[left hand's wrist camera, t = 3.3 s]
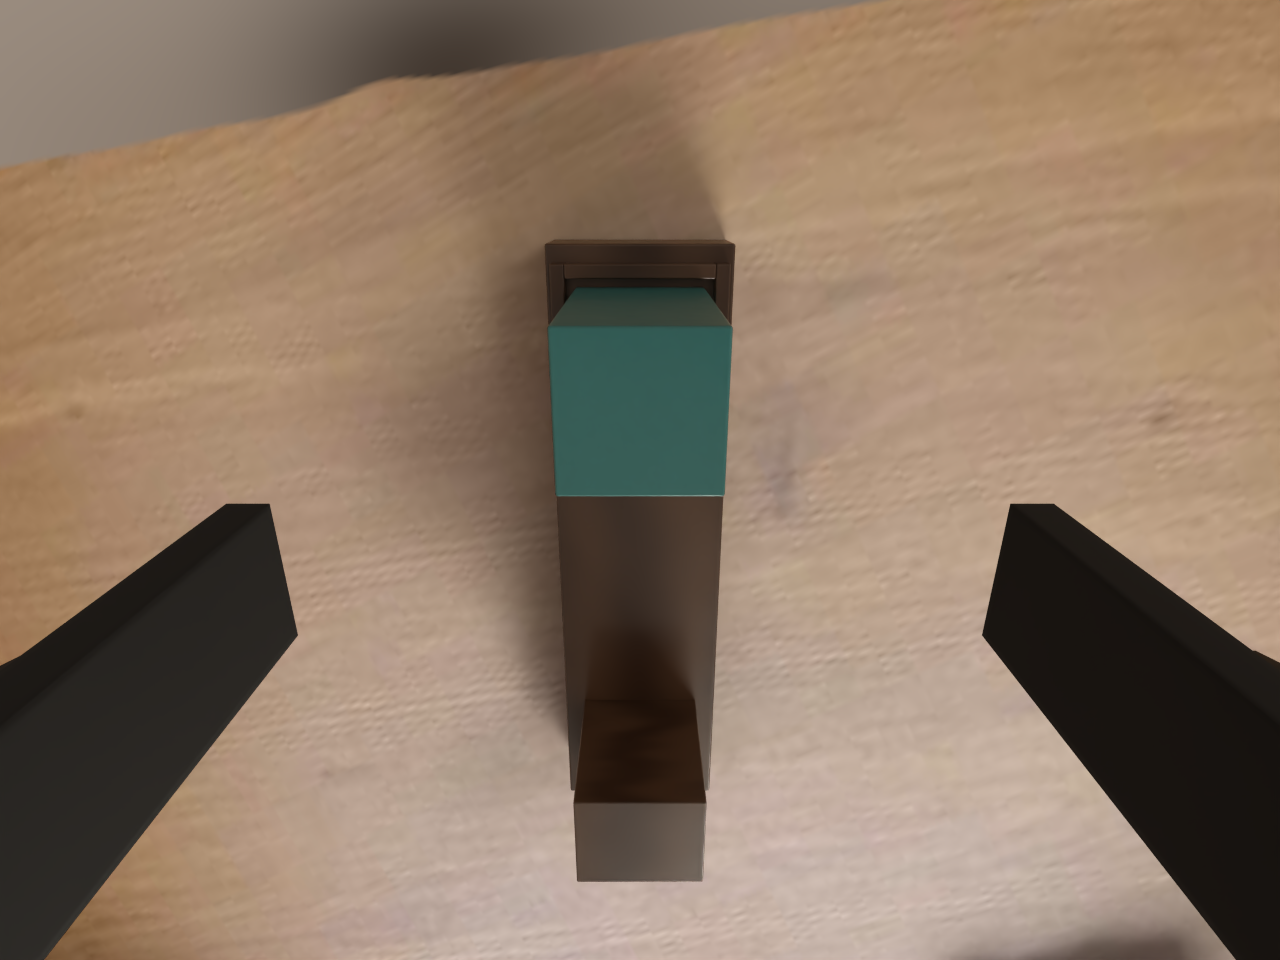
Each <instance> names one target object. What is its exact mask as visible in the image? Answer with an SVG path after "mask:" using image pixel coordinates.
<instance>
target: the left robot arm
mask: <svg viewBox="0 0 1280 960" xmlns="http://www.w3.org/2000/svg"><path fill="white" fill-rule="evenodd" d="M297 636H298V634H297V629H296V624H295V620H294V615H293V610H292V606H291V601H290V596H289V592H288V587H287V583H286V578H285V573H284V569H283V564H282V559H281V555H280V550H279V545H278V541H277V536H276V532H275V527H274V522H273V518H272V513H271V508H270V504H225V505H224V506H223V507H221V508H220V509H219V510H217V511H216V512H215V513H213V514H212V515H210V516H209V517H208V518H206V519H205V520H204V521H202V522H201V523H200V524H198V525H197V526H196V527H194V528H193V529H192V530H190V531H189V532H187V533H186V534H185V535H183V536H182V537H181V538H179V539H178V540H177V541H175V542H174V543H173V544H171V545H170V546H169V547H167V548H166V549H164V550H163V551H162V552H160V553H159V554H158V555H156V556H155V557H154V558H152V559H151V560H150V561H148V562H147V563H146V564H144V565H143V566H141V567H140V568H139V569H137V570H136V571H135V572H133V573H132V574H131V575H129V576H128V577H127V578H125V579H124V580H123V581H121V582H120V583H118V584H117V585H116V586H114V587H113V588H112V589H110V590H109V591H108V592H106V593H105V594H104V595H102V596H101V597H99V598H98V599H97V600H95V601H94V602H93V603H91V604H90V605H89V606H87V607H86V608H85V609H83V610H82V611H81V612H79V613H78V614H76V615H75V616H74V617H72V618H71V619H70V620H68V621H67V622H66V623H64V624H63V625H62V626H60V627H59V628H58V629H56V630H55V631H53V632H52V633H51V634H49V635H48V636H47V637H45V638H44V639H43V640H41V641H40V642H39V643H37V644H36V645H35V646H33V647H32V648H30V649H29V650H28V651H26V652H25V653H24V654H22V655H21V656H19V657H17V658H15V659H13V660H11V661H9V662H7V663H5V664H3V665H1V666H0V960H44V959H45V958H46V957H47V955H48V954H49V953H50V951H51V950H52V949H53V948H54V946H55V945H56V944H57V943H58V941H59V940H60V939H61V937H62V936H63V935H64V934H65V932H66V931H67V930H68V928H69V927H70V926H71V925H72V923H73V922H74V921H75V920H76V918H77V917H78V916H79V914H80V913H81V912H82V911H83V909H84V908H85V907H86V905H87V904H88V903H89V902H90V900H91V899H92V898H93V897H94V895H95V894H96V893H97V891H98V890H99V889H100V888H101V886H102V885H103V884H104V882H105V881H106V880H107V879H108V877H109V876H110V875H111V874H112V872H113V871H114V870H115V868H116V867H117V866H118V865H119V863H120V862H121V861H122V859H123V858H124V857H125V856H126V854H127V853H128V852H129V851H130V849H131V848H132V847H133V845H134V844H135V843H136V842H137V840H138V839H139V838H140V836H141V835H142V834H143V833H144V831H145V830H146V829H147V828H148V826H149V825H150V824H151V822H152V821H153V820H154V819H155V817H156V816H157V815H158V813H159V812H160V811H161V810H162V808H163V807H164V806H165V805H166V803H167V802H168V801H169V799H170V798H171V797H172V796H173V794H174V793H175V792H176V790H177V789H178V788H179V787H180V785H181V784H182V783H183V782H184V780H185V779H186V778H187V776H188V775H189V774H190V773H191V771H192V770H193V769H194V767H195V766H196V765H197V764H198V762H199V761H200V760H201V759H202V757H203V756H204V755H205V753H206V752H207V751H208V750H209V748H210V747H211V746H212V744H213V743H214V742H215V741H216V739H217V738H218V737H219V736H220V734H221V733H222V732H223V730H224V729H225V728H226V727H227V725H228V724H229V723H230V721H231V720H232V719H233V718H234V716H235V715H236V714H237V712H238V711H239V710H240V709H241V707H242V706H243V705H244V704H245V702H246V701H247V700H248V698H249V697H250V696H251V695H252V693H253V692H254V691H255V689H256V688H257V687H258V686H259V684H260V683H261V682H262V681H263V679H264V678H265V677H266V675H267V674H268V673H269V672H270V670H271V669H272V668H273V666H274V665H275V664H276V663H277V661H278V660H279V659H280V658H281V656H282V655H283V654H284V652H285V651H286V650H287V649H288V647H289V646H290V645H291V643H292V642H293V641H294V640H295V638H296V637H297ZM982 636H983V637H984V638H985V640H986V641H987V642H988V643H989V645H990V646H991V647H992V649H993V650H994V651H995V652H996V654H997V655H998V656H999V658H1000V659H1001V660H1002V661H1003V663H1004V664H1005V665H1006V666H1007V668H1008V669H1009V670H1010V672H1011V673H1012V674H1013V675H1014V677H1015V678H1016V679H1017V681H1018V682H1019V683H1020V684H1021V686H1022V687H1023V688H1024V689H1025V691H1026V692H1027V693H1028V695H1029V696H1030V697H1031V698H1032V700H1033V701H1034V702H1035V704H1036V705H1037V706H1038V707H1039V709H1040V710H1041V711H1042V713H1043V714H1044V715H1045V716H1046V718H1047V719H1048V720H1049V721H1050V723H1051V724H1052V725H1053V727H1054V728H1055V729H1056V730H1057V732H1058V733H1059V734H1060V736H1061V737H1062V738H1063V739H1064V741H1065V742H1066V743H1067V744H1068V746H1069V747H1070V748H1071V750H1072V751H1073V752H1074V753H1075V755H1076V756H1077V757H1078V759H1079V760H1080V761H1081V762H1082V764H1083V765H1084V766H1085V767H1086V769H1087V770H1088V771H1089V773H1090V774H1091V775H1092V776H1093V778H1094V779H1095V780H1096V782H1097V783H1098V784H1099V785H1100V787H1101V788H1102V789H1103V790H1104V792H1105V793H1106V794H1107V796H1108V797H1109V798H1110V799H1111V801H1112V802H1113V803H1114V805H1115V806H1116V807H1117V808H1118V810H1119V811H1120V812H1121V813H1122V815H1123V816H1124V817H1125V819H1126V820H1127V821H1128V822H1129V824H1130V825H1131V826H1132V828H1133V829H1134V830H1135V831H1136V833H1137V834H1138V835H1139V836H1140V838H1141V839H1142V840H1143V842H1144V843H1145V844H1146V845H1147V847H1148V848H1149V849H1150V851H1151V852H1152V853H1153V854H1154V856H1155V857H1156V858H1157V859H1158V861H1159V862H1160V863H1161V865H1162V866H1163V867H1164V868H1165V870H1166V871H1167V872H1168V874H1169V875H1170V876H1171V877H1172V879H1173V880H1174V881H1175V882H1176V884H1177V885H1178V886H1179V888H1180V889H1181V890H1182V891H1183V893H1184V894H1185V895H1186V897H1187V898H1188V899H1189V900H1190V902H1191V903H1192V904H1193V905H1194V907H1195V908H1196V909H1197V911H1198V912H1199V913H1200V914H1201V916H1202V917H1203V918H1204V920H1205V921H1206V922H1207V923H1208V925H1209V926H1210V927H1211V928H1212V930H1213V931H1214V932H1215V934H1216V935H1217V936H1218V937H1219V939H1220V940H1221V941H1222V943H1223V944H1224V945H1225V946H1226V948H1227V949H1228V950H1229V951H1230V953H1231V954H1232V955H1233V957H1234V958H1235V959H1236V960H1280V663H1279V662H1277V661H1275V660H1273V659H1271V658H1269V657H1267V656H1265V655H1263V654H1261V653H1259V652H1257V651H1252V650H1251V649H1250V648H1248V647H1247V646H1245V645H1244V644H1243V643H1241V642H1240V641H1239V640H1237V639H1236V638H1235V637H1233V636H1232V635H1231V634H1229V633H1228V632H1227V631H1225V630H1224V629H1222V628H1221V627H1220V626H1218V625H1217V624H1216V623H1214V622H1213V621H1212V620H1210V619H1209V618H1208V617H1206V616H1205V615H1204V614H1202V613H1201V612H1199V611H1198V610H1197V609H1195V608H1194V607H1193V606H1191V605H1190V604H1189V603H1187V602H1186V601H1185V600H1183V599H1182V598H1180V597H1179V596H1178V595H1176V594H1175V593H1174V592H1172V591H1171V590H1170V589H1168V588H1167V587H1166V586H1164V585H1163V584H1162V583H1160V582H1159V581H1157V580H1156V579H1155V578H1153V577H1152V576H1151V575H1149V574H1148V573H1147V572H1145V571H1144V570H1143V569H1141V568H1140V567H1139V566H1137V565H1136V564H1134V563H1133V562H1132V561H1130V560H1129V559H1128V558H1126V557H1125V556H1124V555H1122V554H1121V553H1120V552H1118V551H1117V550H1116V549H1114V548H1113V547H1111V546H1110V545H1109V544H1107V543H1106V542H1105V541H1103V540H1102V539H1101V538H1099V537H1098V536H1097V535H1095V534H1094V533H1093V532H1091V531H1090V530H1088V529H1087V528H1086V527H1084V526H1083V525H1082V524H1080V523H1079V522H1078V521H1076V520H1075V519H1074V518H1072V517H1071V516H1070V515H1068V514H1067V513H1065V512H1064V511H1063V510H1061V509H1060V508H1059V507H1057V506H1056V505H1055V504H1010V508H1009V513H1008V518H1007V522H1006V527H1005V532H1004V536H1003V541H1002V545H1001V550H1000V555H999V559H998V564H997V569H996V573H995V578H994V583H993V587H992V592H991V596H990V601H989V606H988V610H987V615H986V620H985V624H984V629H983V634H982Z"/></svg>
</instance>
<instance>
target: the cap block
mask: <svg viewBox="0 0 1280 960" xmlns="http://www.w3.org/2000/svg"><path fill="white" fill-rule="evenodd" d="M547 332H548V353H549V373H550V394H551V415H552V435H553V456H554V476H555V494H556V496H724V494H725V476H726V455H727V435H728V414H729V394H730V373H731V353H732V332H733V328H732V326H731V324H730V323H729V322H728V320H727V319H726V318H725V316H724V315H723V313H722V312H721V311H720V309H719V308H718V306H717V305H716V304H715V302H714V301H713V300H712V298H711V297H710V295H709V294H708V293H707V291H706V290H705V288H704V287H576V288H575V290H574V291H573V293H572V294H571V295H570V297H569V298H568V300H567V301H566V302H565V304H564V305H563V306H562V308H561V309H560V311H559V312H558V313H557V315H556V316H555V318H554V319H553V320H552V322H551V323H550V324H549V326H548V328H547Z"/></svg>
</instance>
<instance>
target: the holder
mask: <svg viewBox="0 0 1280 960" xmlns="http://www.w3.org/2000/svg"><path fill="white" fill-rule="evenodd" d="M545 261H546V282H547V303H548V324H550V323H551V322H552V320H553V319H554V318H555V316H556V315H557V313H558V312H559V311H560V309H561V308H562V306H563V305H564V304H565V302H566V301H567V300H568V298H569V297H570V295H571V294H572V293H573V291H574V290H575V288H576V287H704V288H705V290H706V291H707V293H708V294H709V295H710V297H711V298H712V300H713V301H714V302H715V304H716V305H717V306H718V308H719V309H720V311H721V312H722V313H723V315H724V316H725V318H726V319H727V320H728V322H729V323H730V324H732V303H733V282H734V261H735V244H733V243H731V242H729V241H727V240H553V241H551V242H549V243H547V244H545ZM557 511H558V532H559V553H560V574H561V595H562V616H563V636H564V657H565V678H566V699H567V720H568V741H569V761H570V782H571V790H575V794H574V824H575V845H576V867H577V881H578V882H702V881H703V867H704V845H705V824H706V794H705V790H709V782H710V761H711V740H712V720H713V699H714V678H715V657H716V636H717V615H718V595H719V574H720V553H721V532H722V511H723V496H557Z"/></svg>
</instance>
